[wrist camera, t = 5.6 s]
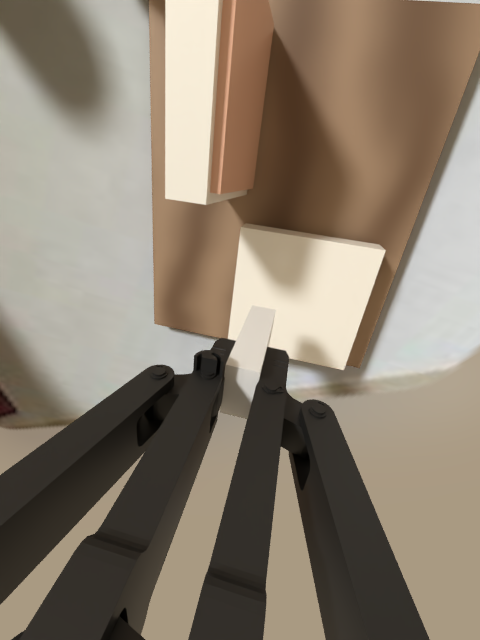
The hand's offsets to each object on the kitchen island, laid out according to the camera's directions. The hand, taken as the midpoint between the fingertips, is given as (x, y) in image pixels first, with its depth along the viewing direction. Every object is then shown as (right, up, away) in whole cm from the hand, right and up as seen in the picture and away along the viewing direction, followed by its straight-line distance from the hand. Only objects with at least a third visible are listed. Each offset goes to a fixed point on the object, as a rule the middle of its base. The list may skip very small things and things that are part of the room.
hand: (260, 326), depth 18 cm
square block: (-2, +3, +6) cm, 7 cm away
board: (+2, +9, +5) cm, 11 cm away
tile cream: (-1, +15, +2) cm, 15 cm away
